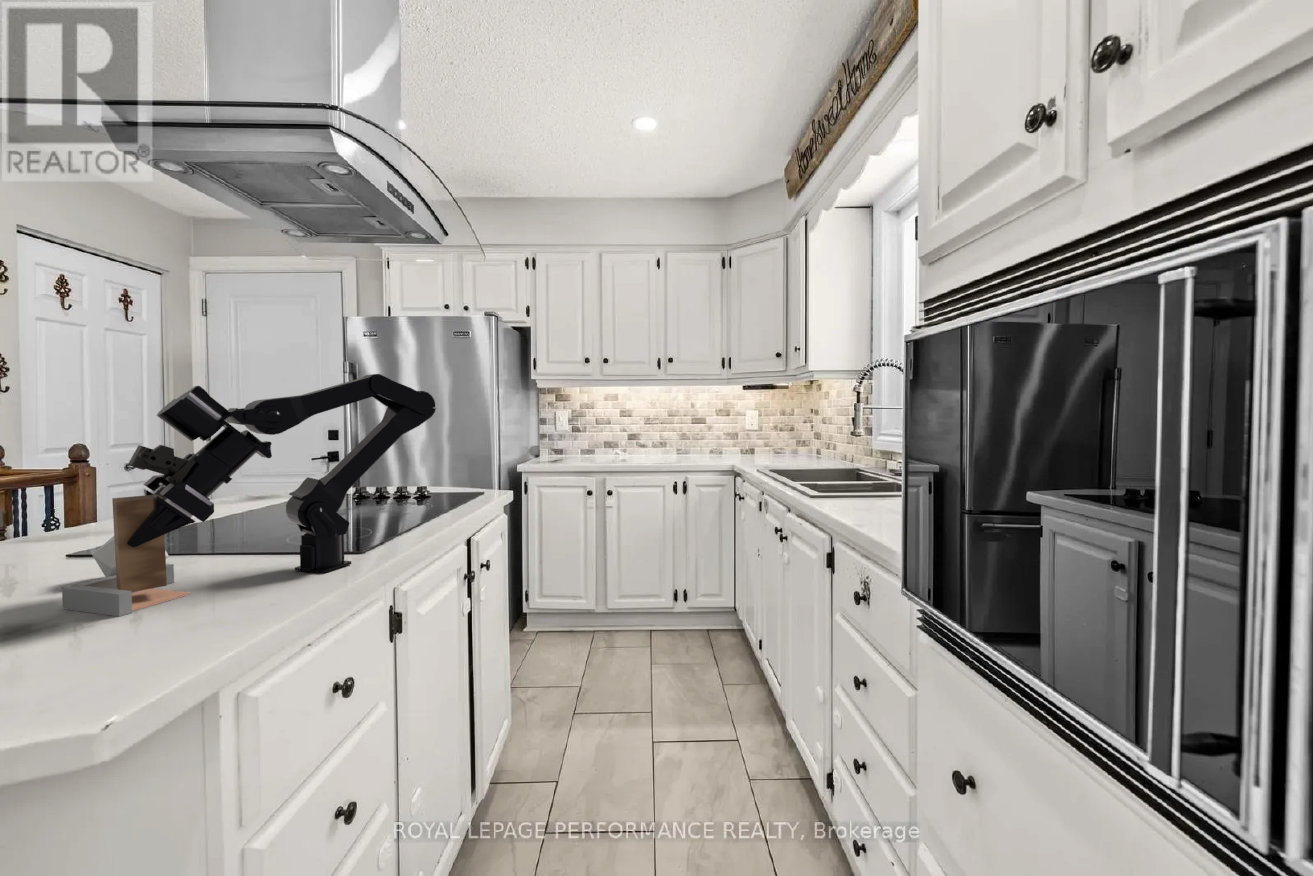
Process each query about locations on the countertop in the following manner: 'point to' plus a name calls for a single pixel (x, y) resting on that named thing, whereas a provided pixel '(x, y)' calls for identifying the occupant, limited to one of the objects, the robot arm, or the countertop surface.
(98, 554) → the die
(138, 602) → the pad
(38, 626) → the countertop surface
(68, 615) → the countertop surface
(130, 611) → the corner bracket
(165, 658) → the countertop surface
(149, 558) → the walnut block
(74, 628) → the countertop surface
